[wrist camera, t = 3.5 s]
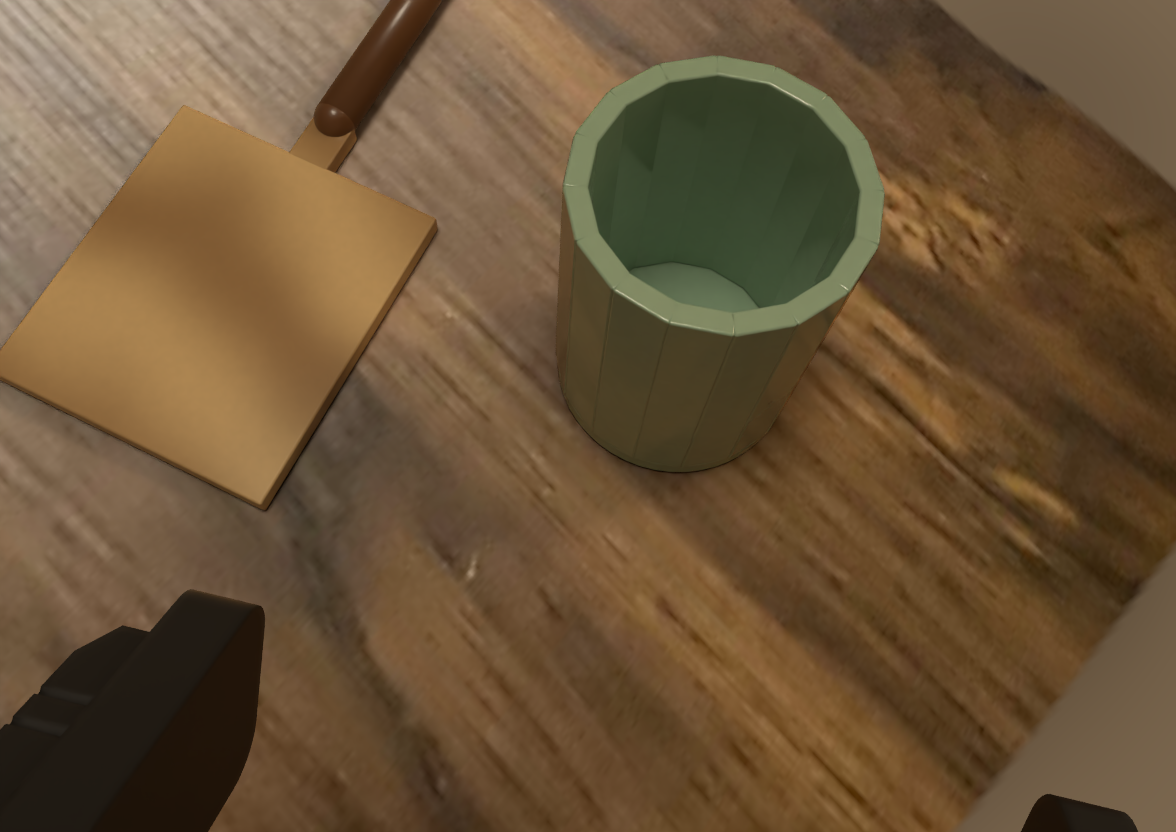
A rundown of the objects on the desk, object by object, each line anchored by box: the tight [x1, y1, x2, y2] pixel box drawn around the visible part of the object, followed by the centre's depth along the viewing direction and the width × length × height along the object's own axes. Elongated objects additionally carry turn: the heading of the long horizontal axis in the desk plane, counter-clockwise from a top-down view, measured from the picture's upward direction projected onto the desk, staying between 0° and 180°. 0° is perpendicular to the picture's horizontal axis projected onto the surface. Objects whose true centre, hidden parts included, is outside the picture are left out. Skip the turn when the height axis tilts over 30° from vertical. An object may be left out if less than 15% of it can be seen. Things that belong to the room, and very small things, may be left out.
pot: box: [555, 56, 885, 472], centre depth 25 cm, size 6×6×8 cm
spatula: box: [0, 0, 442, 510], centre depth 31 cm, size 22×8×1 cm, turn 154°
